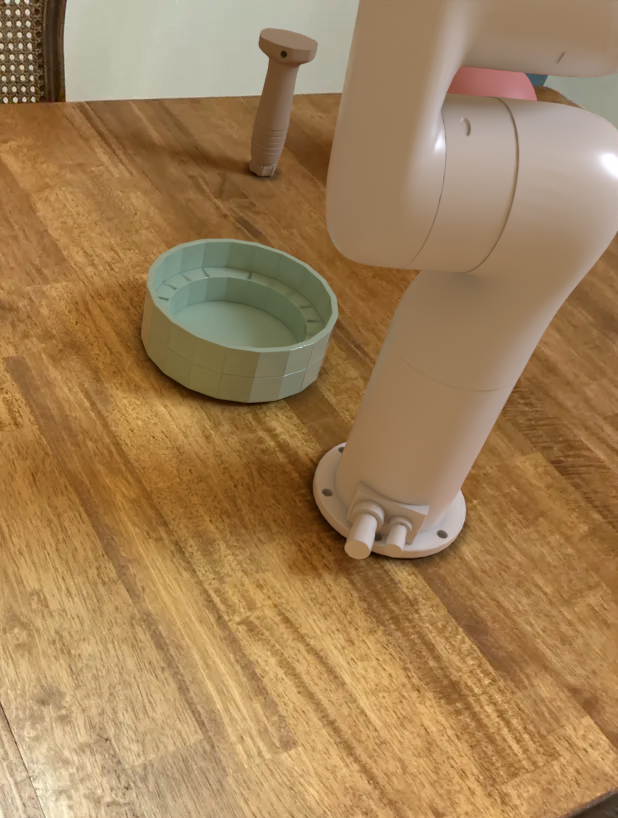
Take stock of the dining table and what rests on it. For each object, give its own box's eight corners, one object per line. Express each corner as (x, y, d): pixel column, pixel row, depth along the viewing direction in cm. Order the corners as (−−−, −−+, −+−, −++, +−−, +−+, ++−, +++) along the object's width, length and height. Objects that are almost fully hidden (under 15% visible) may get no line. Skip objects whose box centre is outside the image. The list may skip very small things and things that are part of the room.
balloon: (536, 243, 106) (597, 114, 94) (378, 191, 108) (420, 59, 96) (547, 190, 116) (604, 68, 104) (402, 144, 118) (443, 19, 107)
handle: (283, 187, 105) (314, 54, 94) (232, 173, 105) (256, 38, 94) (290, 169, 108) (320, 39, 97) (240, 156, 108) (264, 24, 97)
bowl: (293, 430, 76) (310, 376, 72) (111, 365, 78) (116, 308, 73) (340, 328, 87) (356, 275, 83) (179, 273, 89) (187, 219, 85)
